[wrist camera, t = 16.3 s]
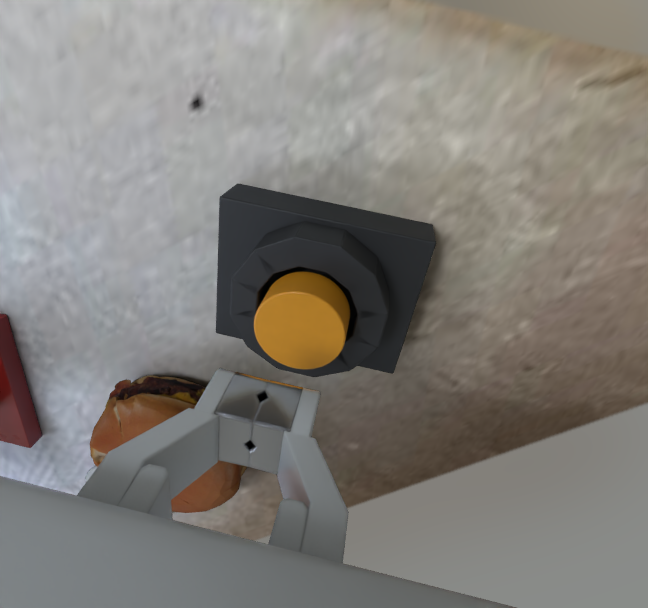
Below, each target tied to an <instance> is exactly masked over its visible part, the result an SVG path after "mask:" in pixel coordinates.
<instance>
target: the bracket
mask: <svg viewBox="0 0 648 608" xmlns="http://www.w3.org/2000/svg"><path fill="white" fill-rule="evenodd" d="M41 437H42V433H41V430H40V426H39V423H38V420H37V416H36V413H35V409H34V406H33V403H32V399H31V396H30V392H29V389H28V385H27V382H26V379H25V375H24V372H23V368H22V365H21V361H20V358H19V355H18V351H17V348H16V344H15V341H14V338H13V334H12V331H11V327H10V324H9V320H8V317H7V315H4V314H0V441H4V442H8V443H12V444H16V445H20V446H24V447H28V448H31V447H32V446H33V445H34V444H35V443H36V442H37V441H38V440H39V439H40V438H41Z"/></svg>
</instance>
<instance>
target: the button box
mask: <svg viewBox="0 0 648 608" xmlns="http://www.w3.org/2000/svg"><path fill="white" fill-rule="evenodd" d="M435 245H436V240H435V235H434V230H433V225H432V224H428V223H423V222H418V221H414V220H409V219H404V218H399V217H395V216H390V215H385V214H380V213H376V212H371V211H366V210H361V209H357V208H352V207H347V206H342V205H337V204H333V203H328V202H323V201H318V200H314V199H309V198H304V197H299V196H295V195H290V194H285V193H280V192H276V191H271V190H266V189H261V188H257V187H252V186H247V185H242V184H236V185H235V186H234V187H232V188H231V189H230V190H228V191H227V192H226V193H224V194H223V195H222V196H220V208H219V243H218V278H217V313H216V333H219V334H223V335H227V336H232V337H236V338H240V339H243V340H244V342H245V344H246V345H247V347H249V348H250V349H251V350H253V351H254V352H255V353H257V354H258V355H260V356H261V357H262V358H264V359H265V360H266V361H268V362H269V363H271V364H272V365H273V366H275V367H276V368H278V369H281V370H285V371H290V372H294V373H298V374H302V375H307V376H311V377H319V376H324V375H329V374H334V373H340V372H345V371H350V370H351V369H353V368H354V367H356V366H362V367H366V368H370V369H375V370H379V371H383V372H388V373H394V370H395V367H396V364H397V361H398V358H399V355H400V352H401V349H402V346H403V343H404V340H405V337H406V334H407V331H408V327H409V324H410V321H411V318H412V315H413V312H414V309H415V306H416V303H417V300H418V297H419V294H420V291H421V288H422V285H423V282H424V279H425V276H426V273H427V270H428V267H429V264H430V261H431V257H432V254H433V251H434V248H435ZM294 272H312V273H316V274H320V275H322V276H325V277H326V278H328V279H330V280H331V281H333V282H334V283H335V284H336V285H337V286H339V288H340V289H341V290H342V291H343V293H344V294H345V296H346V298H347V300H348V303H349V307H350V320H349V325H348V330H347V335H346V340H345V344H344V347H343V349H342V351H341V353H340V354H339V355H338V356H337V357H336V358H335V359H334V360H333V361H332V362H330V363H329V364H327V365H325V366H322V367H319V368H315V369H296V368H292V367H288V366H286V365H283V364H281V363H279V362H277V361H276V360H274V359H273V358H271V357H270V356H269V355H268V354H267V353H266V352H265V351H264V350H263V349H262V347H261V346H260V344H259V343H258V341H257V338H256V335H255V332H254V318H255V314H256V311H257V310H258V308H259V306H260V304H261V302H262V301H263V299H264V297H265V295H266V294H267V292H268V290H269V289H270V287H271V286H272V284H273V283H274V282H275V281H276V280H278V279H279V278H281V277H283V276H285V275H287V274H290V273H294Z"/></svg>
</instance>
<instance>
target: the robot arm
mask: <svg viewBox="0 0 648 608" xmlns="http://www.w3.org/2000/svg"><path fill="white" fill-rule="evenodd" d="M320 395H321V392H320V391H316V390H311V389H307V388H302V387H298V386H293V385H289V384H284V383H280V382H275V381H271V380H270V381H269V380H266V379H262V378H258V377H254V376H250V375H246V374H243V373H239V372H233V371H230V370H226V369H222V368H219V369H218V370H217V371H216V372H215V373H214V375H213V377H212V379H211V380H210V382H209V384H208V385H207V387H206V389H205V391H204V392H203V394H202V396H201V398H200V399H199V401H198V403H197V405H196V406H195V408H194V409H191V408H188V409H186V410H184V411H182V412H181V413H179V414H177V415H175V416H173V417H171V418H170V419H168V420H166V421H164V422H162V423H161V424H159V425H157V426H155V427H153V428H151V429H150V430H148V431H146V432H144V433H142V434H140V435H139V436H137V437H135V438H133V439H131V440H129V441H128V442H126V443H124V444H122V445H120V446H119V447H117V448H115V449H113V450H111V451H109V452H108V454H107V455H106V456H105V458H104V459H103V460H102V462H101V463H100V465H99V466H98V467H97V469H96V470H95V471H94V473H93V474H92V475H91V477H90V478H89V480H88V481H87V482H86V484H85V485H84V486H83V488H82V489H81V491H80V492H79V493H78V495H77V496H76V495H72V494H68V493H65V492H61V491H57V490H53V489H49V488H45V487H41V486H37V485H33V484H29V483H25V482H21V481H17V480H14V479H10V478H6V477H2V476H0V608H516V607H512V606H508V605H504V604H500V603H496V602H492V601H489V600H484V599H481V598H476V597H473V596H469V595H465V594H461V593H457V592H453V591H449V590H445V589H441V588H438V587H434V586H429V585H425V584H421V583H417V582H414V581H410V580H406V579H402V578H398V577H394V576H390V575H387V574H383V573H379V572H375V571H371V570H367V569H363V568H359V567H355V566H351V565H347V564H343V555H344V547H345V538H346V529H347V521H348V510H347V508H346V505H345V503H344V501H343V499H342V496H341V494H340V492H339V490H338V487H337V485H336V483H335V481H334V478H333V476H332V474H331V472H330V470H329V467H328V465H327V463H326V461H325V458H324V456H323V454H322V452H321V449H320V447H319V445H318V443H317V441H316V439H315V438H312V432H313V428H314V423H315V418H316V414H317V409H318V404H319V400H320ZM218 460H220V461H224V462H229V463H233V464H238V465H243V466H247V467H251V468H255V469H258V470H262V471H266V472H269V473H273V474H276V475H277V477H278V481H279V485H280V488H281V492H282V496H283V499H284V500H282V501H281V502H280V505H279V509H278V512H277V516H276V519H275V523H274V526H273V530H272V533H271V537H270V540H269V544H265V543H261V542H256V541H253V540H249V539H245V538H241V537H237V536H233V535H229V534H225V533H222V532H218V531H214V530H210V529H206V528H202V527H198V526H194V525H190V524H186V523H182V522H178V521H174V520H172V507H171V500H172V499H173V498H174V497H175V496H177V495H178V494H179V493H180V492H182V491H183V490H184V489H185V488H186V487H188V486H189V485H190V484H191V483H193V482H194V481H195V480H196V479H198V478H199V477H200V476H201V475H202V474H204V473H205V472H206V471H207V470H209V469H210V468H211V467H212V466H214V465H215V464H216V463H217V462H218Z"/></svg>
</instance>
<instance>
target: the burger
mask: <svg viewBox="0 0 648 608" xmlns="http://www.w3.org/2000/svg"><path fill="white" fill-rule="evenodd" d="M205 389H206V388H204V387H203V386H201V385H198V384H195V383H194V382H188V381H186V380H183V379H179V378H174V377H157V376H151V375H149V376H144V377H142V378H140V379H137V380H135V381H134V382H132V383H131V380H123V381H120V382H119V383H117V385H116V386H115V390H114V391H112V392H111V393H110V397H109V400H108V402H107V404H106V409H105V411H104V412H103V414H102V416H101V417H100V419H99V420H98V422H97V424H96V425H95V427H94V430H93V433H92V437H91V441H90V448H91V457H92V458H93V461H94V464H95V465H96V466H97V467H98V466H99V465H100V463H101V462H102V460H103V459H104V458H105V456H106V455H107V454H108V452H109V451H111V450H113V449H115V448H117V447H119V446H120V445H122V444H124V443H126V442H128V441H129V440H131V439H133V438H135V437H137V436H139V435H140V434H142V433H144V432H146V431H148V430H150V429H151V428H153V427H155V426H157V425H159V424H161V423H162V422H164V421H166V420H168V419H170V418H171V417H173V416H175V415H177V414H179V413H181V412H182V411H184V410H186V409H188V408H191V409H194V408H195V406H196V405H197V403H198V401H199V399H200V398H201V396H202V394H203V392H204V391H205ZM246 468H247V466H243V465H238V464H233V463H229V462H224V461H220V460H218V462H217V463H216V464H215V465H214V466H212V467H211V468H210V469H209V470H207V471H206V472H205V473H204V474H202V475H201V476H200V477H199V478H198V479H196V480H195V481H194V482H193V483H191V484H190V485H189V486H188V487H186V488H185V489H184V490H183V491H182V492H180V493H179V494H178V495H177V496H175V497H174V498H173V499H172V500H171V507H172V511H173V512H183V513H192V512H202V511H207V510H210V509H212V508H215V507H217V506H220V505H222V504H223V503H225V502H226V501H227V500H229V499H230V498H232V497H233V496H234V495H235V493H236V492H237V491H238V489H239V485H240V480H241V476H242V475H243V473H244V472H245V470H246Z"/></svg>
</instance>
